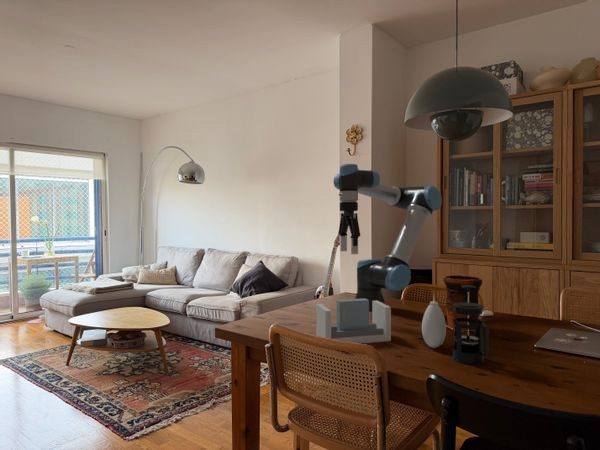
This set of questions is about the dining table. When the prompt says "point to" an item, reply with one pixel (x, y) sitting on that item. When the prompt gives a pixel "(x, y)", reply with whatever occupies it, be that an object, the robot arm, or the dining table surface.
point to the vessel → (460, 296)
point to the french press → (468, 351)
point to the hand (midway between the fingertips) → (348, 252)
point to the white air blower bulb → (434, 325)
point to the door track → (376, 317)
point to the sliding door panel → (352, 314)
